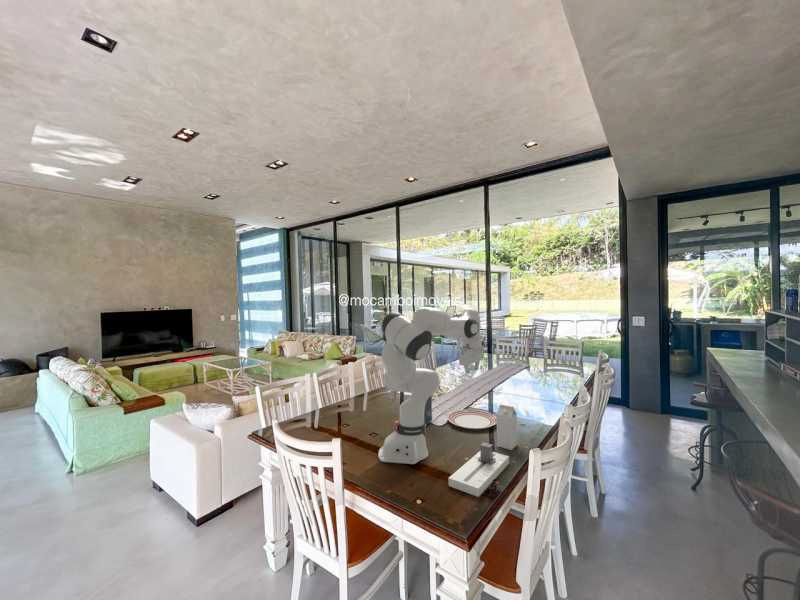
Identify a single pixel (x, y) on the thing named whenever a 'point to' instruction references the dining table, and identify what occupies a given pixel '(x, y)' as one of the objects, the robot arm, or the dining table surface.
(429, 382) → the robot arm
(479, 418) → the dinner plate
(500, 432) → the milk carton
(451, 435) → the dining table surface
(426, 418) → the bottle
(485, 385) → the dining table surface
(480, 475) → the console board
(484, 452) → the fader tab
